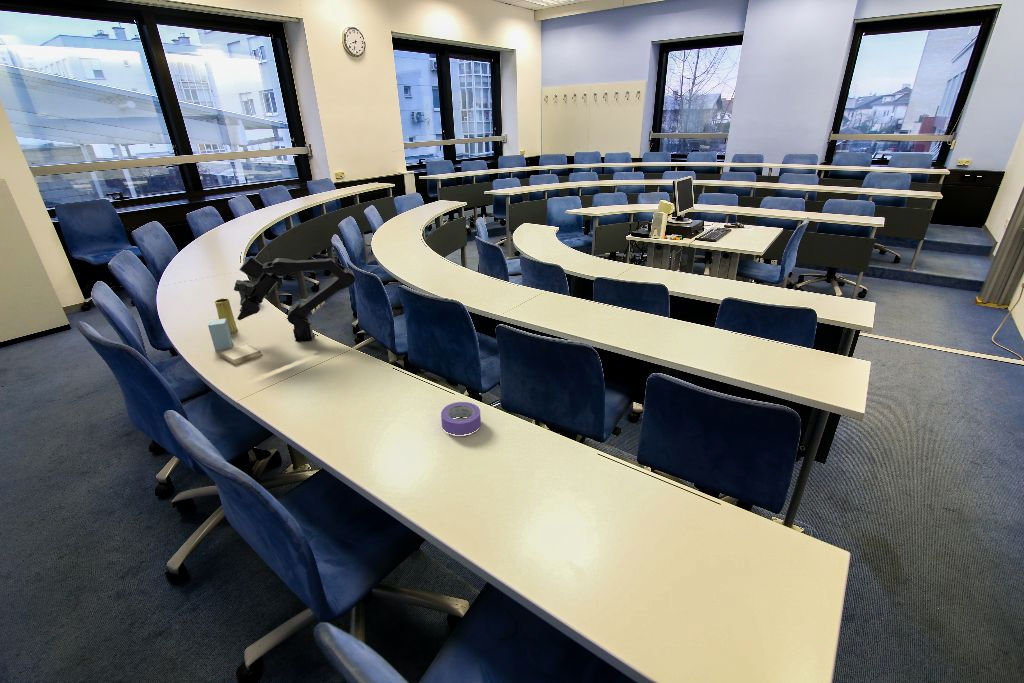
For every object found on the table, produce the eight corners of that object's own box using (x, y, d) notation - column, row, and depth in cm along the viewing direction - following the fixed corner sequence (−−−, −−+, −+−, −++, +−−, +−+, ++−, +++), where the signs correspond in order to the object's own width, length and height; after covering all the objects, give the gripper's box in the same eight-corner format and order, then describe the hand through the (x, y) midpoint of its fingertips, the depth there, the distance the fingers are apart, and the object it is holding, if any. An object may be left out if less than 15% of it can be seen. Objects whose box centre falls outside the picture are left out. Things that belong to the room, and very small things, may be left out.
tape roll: (434, 425, 142) (433, 411, 140) (464, 410, 150) (463, 397, 147) (458, 442, 134) (457, 428, 132) (488, 426, 142) (488, 412, 140)
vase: (234, 327, 207) (226, 296, 201) (240, 330, 204) (232, 300, 198) (219, 331, 203) (210, 300, 197) (225, 335, 200) (216, 303, 194)
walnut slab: (249, 351, 187) (248, 347, 186) (264, 359, 181) (263, 354, 180) (221, 361, 179) (219, 357, 178) (235, 370, 173) (233, 365, 172)
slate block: (233, 345, 190) (226, 318, 185) (231, 351, 186) (224, 323, 181) (217, 347, 189) (210, 320, 183) (215, 353, 184) (207, 325, 179)
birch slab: (248, 348, 185) (247, 343, 185) (261, 354, 180) (260, 350, 179) (222, 357, 178) (220, 352, 177) (234, 364, 173) (233, 359, 172)
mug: (262, 304, 234) (257, 282, 229) (241, 307, 229) (236, 285, 225) (257, 297, 243) (252, 276, 238) (237, 300, 238) (232, 279, 233)
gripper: (246, 266, 187) (222, 296, 188) (242, 280, 171) (215, 312, 172) (272, 283, 193) (249, 311, 194) (270, 297, 177) (244, 328, 178)
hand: (239, 315), depth 184 cm, fingers open, 9 cm apart
